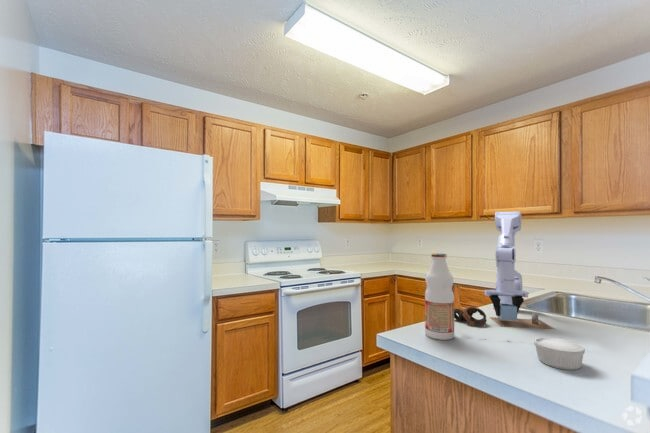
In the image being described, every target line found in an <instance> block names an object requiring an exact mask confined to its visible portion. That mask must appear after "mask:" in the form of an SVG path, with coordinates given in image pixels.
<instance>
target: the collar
mask: <svg viewBox="0 0 650 433" xmlns="http://www.w3.org/2000/svg"><path fill="white" fill-rule="evenodd" d="M495 317H496V318H500V319H501V320H515V321H517V319H518V314H517V307H516V306H515V305H513V304H511V303H500V316H497V315H496V314H495Z"/></svg>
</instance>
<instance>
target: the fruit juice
mask: <svg viewBox="0 0 650 433" xmlns="http://www.w3.org/2000/svg"><path fill="white" fill-rule="evenodd" d="M447 256H448V255H447V253H443V252H433V253H431V258H432V260H431V264H430V267H429V269H428V272H427V273H426V274H425V279H424V280H425V284H426V289H425V292H424V327H425V328H424V331H425V335H426V336H427V337H428V338H431V339H435V340H441V341H447V340H452V339H454V337H455V318H454V309H455V294H454V292H453V285H454V277H453V274H452V273H451V271H450V269H449V267H448V263H447Z"/></svg>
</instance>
